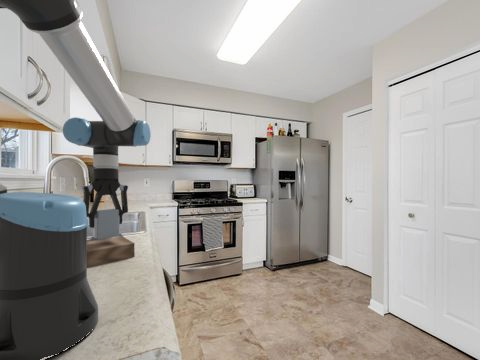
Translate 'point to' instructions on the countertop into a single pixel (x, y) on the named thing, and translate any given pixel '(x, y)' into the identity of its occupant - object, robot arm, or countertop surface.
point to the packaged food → (101, 239)
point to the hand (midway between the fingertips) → (106, 235)
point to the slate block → (107, 223)
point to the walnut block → (109, 250)
